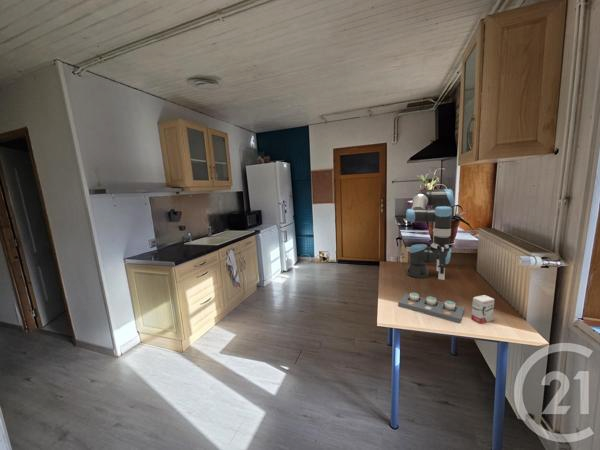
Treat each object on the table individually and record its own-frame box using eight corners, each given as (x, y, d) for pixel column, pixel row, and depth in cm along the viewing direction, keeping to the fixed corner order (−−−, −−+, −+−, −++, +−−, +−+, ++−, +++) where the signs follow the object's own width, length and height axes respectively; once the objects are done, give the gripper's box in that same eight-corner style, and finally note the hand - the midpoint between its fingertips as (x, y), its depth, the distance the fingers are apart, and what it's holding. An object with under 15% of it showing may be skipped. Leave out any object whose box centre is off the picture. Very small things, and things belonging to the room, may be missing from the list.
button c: (445, 305, 134) (445, 299, 133) (455, 307, 130) (456, 301, 130) (443, 308, 130) (444, 302, 129) (454, 311, 127) (454, 305, 126)
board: (406, 297, 150) (406, 293, 149) (464, 311, 130) (464, 307, 130) (398, 306, 139) (398, 301, 139) (460, 323, 120) (460, 318, 120)
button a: (411, 296, 145) (411, 291, 145) (419, 298, 142) (419, 293, 142) (408, 299, 142) (408, 294, 141) (417, 302, 139) (417, 296, 138)
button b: (427, 300, 139) (427, 295, 139) (436, 303, 136) (437, 297, 136) (425, 304, 136) (425, 298, 135) (434, 306, 133) (435, 300, 132)
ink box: (480, 324, 119) (482, 301, 117) (470, 319, 123) (472, 297, 122) (493, 320, 121) (495, 298, 119) (483, 315, 126) (485, 294, 124)
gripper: (432, 231, 140) (431, 267, 143) (435, 240, 117) (433, 282, 120) (447, 232, 136) (445, 268, 139) (453, 241, 114) (451, 284, 117)
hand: (440, 275), depth 130 cm, fingers open, 13 cm apart
